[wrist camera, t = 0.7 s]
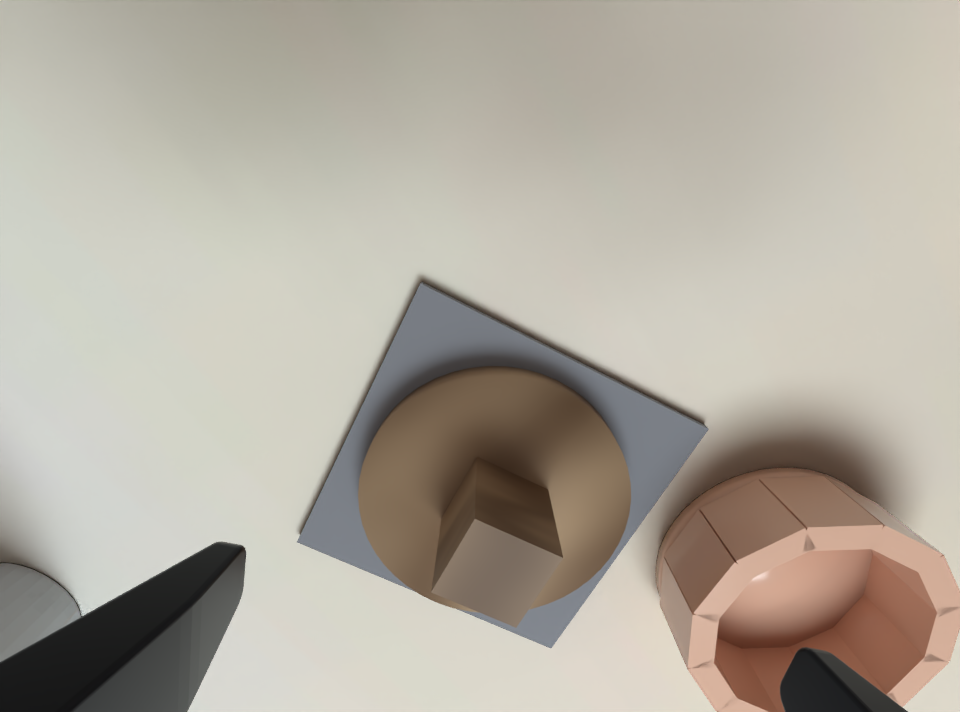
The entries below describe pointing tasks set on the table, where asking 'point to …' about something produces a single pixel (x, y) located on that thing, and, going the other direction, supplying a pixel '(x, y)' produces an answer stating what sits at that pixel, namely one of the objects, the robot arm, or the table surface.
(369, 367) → the table surface
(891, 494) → the table surface
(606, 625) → the table surface
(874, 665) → the bowl
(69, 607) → the coffee cup
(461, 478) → the lid
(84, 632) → the robot arm
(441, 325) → the mat
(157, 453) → the table surface
